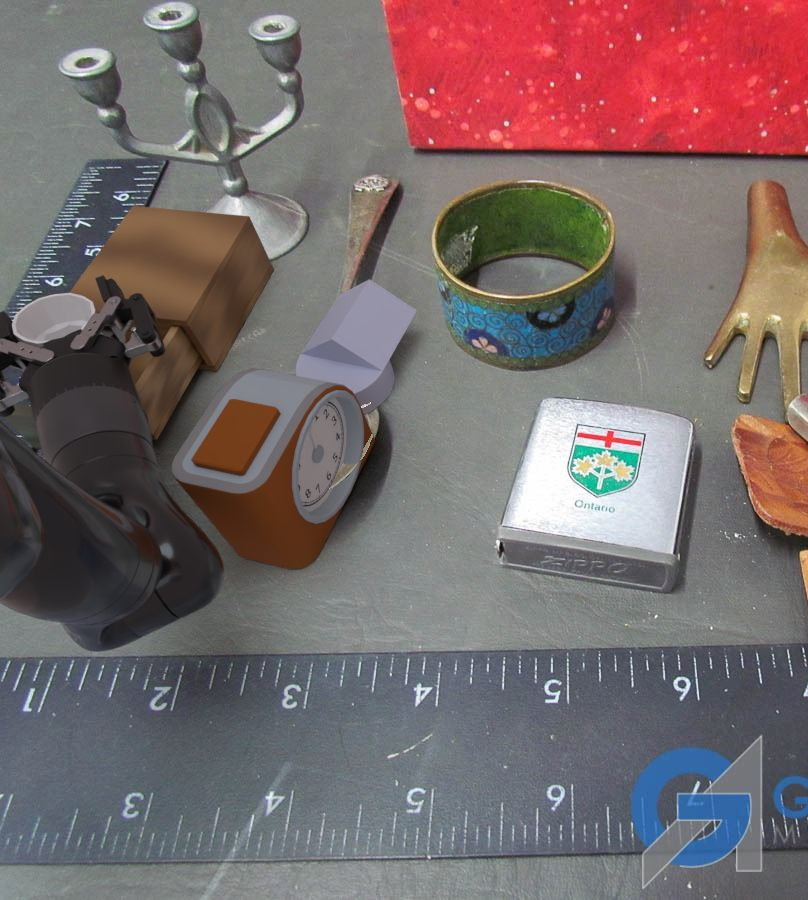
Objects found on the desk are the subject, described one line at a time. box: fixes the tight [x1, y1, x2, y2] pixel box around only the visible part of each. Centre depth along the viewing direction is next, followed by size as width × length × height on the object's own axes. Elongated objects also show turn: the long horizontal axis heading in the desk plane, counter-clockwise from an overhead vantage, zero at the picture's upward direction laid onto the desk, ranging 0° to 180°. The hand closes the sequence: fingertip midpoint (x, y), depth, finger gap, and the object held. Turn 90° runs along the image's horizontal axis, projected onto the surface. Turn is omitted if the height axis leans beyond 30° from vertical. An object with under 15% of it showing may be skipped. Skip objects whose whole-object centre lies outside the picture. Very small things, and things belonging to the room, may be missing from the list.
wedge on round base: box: [295, 278, 418, 415], centre depth 83 cm, size 9×7×13 cm
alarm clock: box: [171, 367, 376, 570], centre depth 71 cm, size 15×8×14 cm, turn 166°
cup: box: [12, 292, 103, 348], centre depth 77 cm, size 7×7×11 cm
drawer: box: [2, 318, 203, 458], centre depth 80 cm, size 16×12×6 cm
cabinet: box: [68, 205, 275, 372], centre depth 88 cm, size 16×14×8 cm
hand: (55, 301), depth 74 cm, fingers open, 8 cm apart
